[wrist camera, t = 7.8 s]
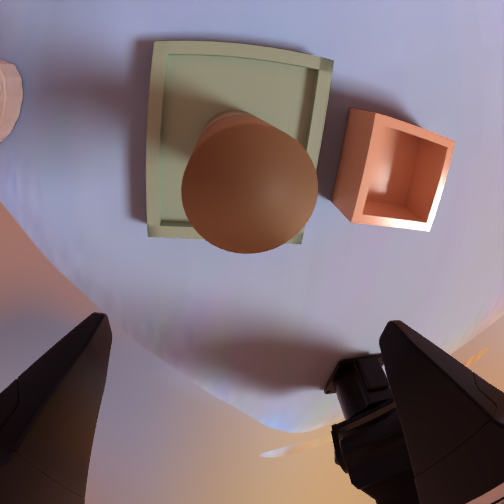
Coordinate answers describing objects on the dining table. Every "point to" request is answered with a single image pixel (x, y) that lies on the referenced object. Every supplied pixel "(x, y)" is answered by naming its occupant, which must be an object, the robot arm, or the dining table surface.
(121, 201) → the dining table surface
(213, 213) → the dowel
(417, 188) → the holder
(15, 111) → the pink cylinder
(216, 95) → the tray
